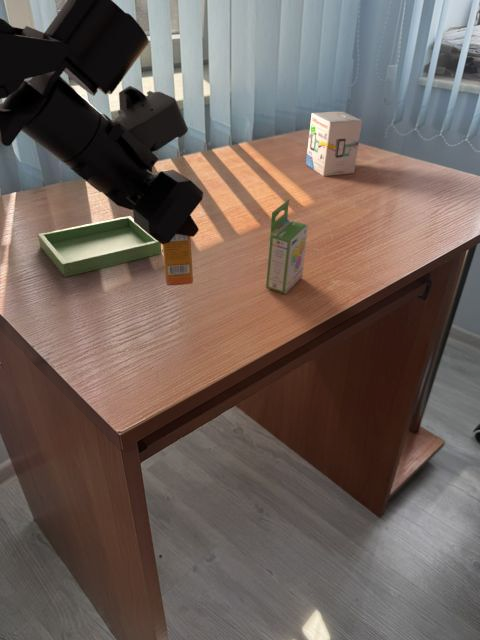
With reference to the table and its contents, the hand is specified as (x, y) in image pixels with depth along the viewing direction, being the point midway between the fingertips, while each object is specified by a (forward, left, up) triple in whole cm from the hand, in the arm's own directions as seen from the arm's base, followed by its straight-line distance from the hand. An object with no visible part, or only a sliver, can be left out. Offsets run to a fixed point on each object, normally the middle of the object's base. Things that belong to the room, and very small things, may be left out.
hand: (186, 226), depth 60 cm
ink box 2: (+59, +39, -13) cm, 72 cm away
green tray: (-2, +25, -13) cm, 28 cm away
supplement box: (-1, 0, -7) cm, 7 cm away
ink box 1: (+17, +2, -13) cm, 22 cm away
